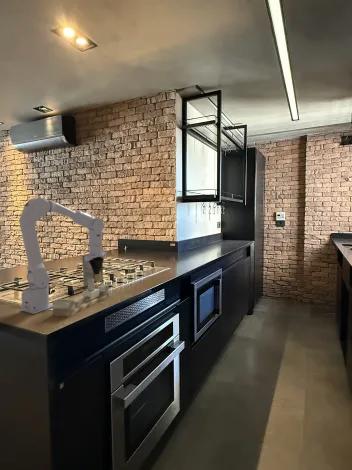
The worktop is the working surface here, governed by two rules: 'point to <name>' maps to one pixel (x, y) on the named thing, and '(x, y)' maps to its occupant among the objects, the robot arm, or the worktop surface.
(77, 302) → the rail base
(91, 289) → the carriage
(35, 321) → the worktop surface
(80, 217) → the robot arm
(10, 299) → the worktop surface
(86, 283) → the coffee box
